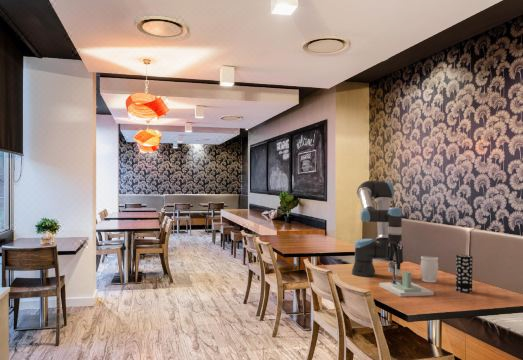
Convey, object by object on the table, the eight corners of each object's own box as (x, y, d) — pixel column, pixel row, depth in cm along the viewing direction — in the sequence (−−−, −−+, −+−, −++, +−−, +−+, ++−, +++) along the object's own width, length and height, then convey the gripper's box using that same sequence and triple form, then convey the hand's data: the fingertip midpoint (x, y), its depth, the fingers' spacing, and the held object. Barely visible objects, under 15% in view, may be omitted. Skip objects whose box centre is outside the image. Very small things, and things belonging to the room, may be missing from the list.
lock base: (379, 286, 242) (379, 282, 242) (409, 285, 247) (409, 281, 247) (400, 296, 220) (400, 292, 220) (433, 295, 224) (433, 290, 224)
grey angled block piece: (388, 282, 242) (388, 262, 242) (397, 282, 243) (397, 262, 243) (397, 286, 232) (398, 266, 232) (407, 286, 233) (407, 265, 233)
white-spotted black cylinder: (465, 293, 229) (466, 257, 229) (452, 290, 236) (453, 255, 236) (475, 292, 232) (475, 256, 233) (462, 288, 240) (462, 254, 240)
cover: (392, 286, 233) (393, 269, 233) (408, 286, 236) (408, 269, 236) (404, 292, 222) (404, 274, 222) (421, 291, 224) (421, 273, 224)
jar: (439, 283, 251) (440, 259, 251) (421, 282, 253) (422, 258, 254) (436, 279, 262) (436, 256, 262) (418, 278, 264) (419, 255, 264)
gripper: (380, 232, 250) (380, 270, 250) (398, 236, 231) (397, 277, 231) (391, 232, 252) (391, 269, 252) (410, 235, 233) (409, 276, 233)
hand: (394, 273), depth 241 cm, fingers open, 6 cm apart
